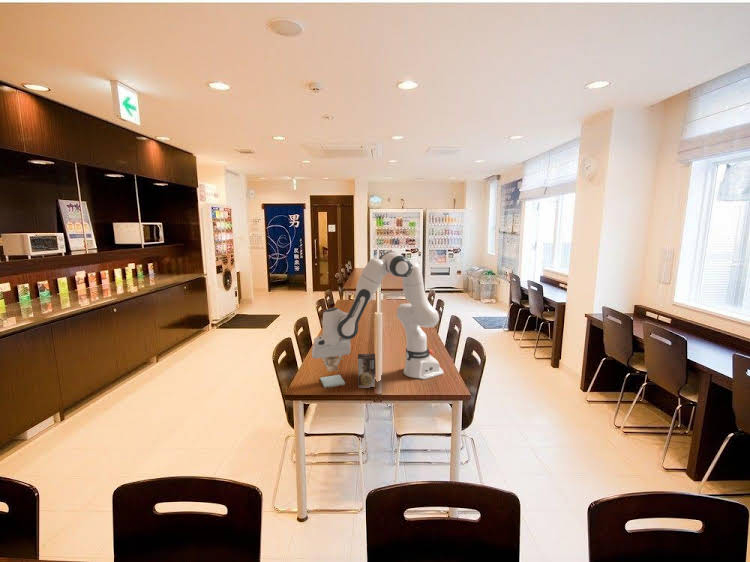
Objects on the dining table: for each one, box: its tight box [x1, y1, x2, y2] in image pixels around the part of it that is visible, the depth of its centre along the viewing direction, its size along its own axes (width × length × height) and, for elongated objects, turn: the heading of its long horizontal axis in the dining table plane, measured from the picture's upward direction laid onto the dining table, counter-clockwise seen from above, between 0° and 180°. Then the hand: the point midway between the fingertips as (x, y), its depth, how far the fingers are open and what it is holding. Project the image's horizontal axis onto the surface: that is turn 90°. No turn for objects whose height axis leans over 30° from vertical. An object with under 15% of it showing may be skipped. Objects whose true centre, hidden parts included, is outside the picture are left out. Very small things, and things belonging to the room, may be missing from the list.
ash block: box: [325, 356, 339, 372], centre depth 185 cm, size 5×5×6 cm
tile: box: [319, 374, 346, 389], centre depth 186 cm, size 11×11×1 cm
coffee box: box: [357, 353, 377, 389], centre depth 181 cm, size 9×6×16 cm
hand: (331, 364), depth 185 cm, fingers closed on ash block, 5 cm apart
